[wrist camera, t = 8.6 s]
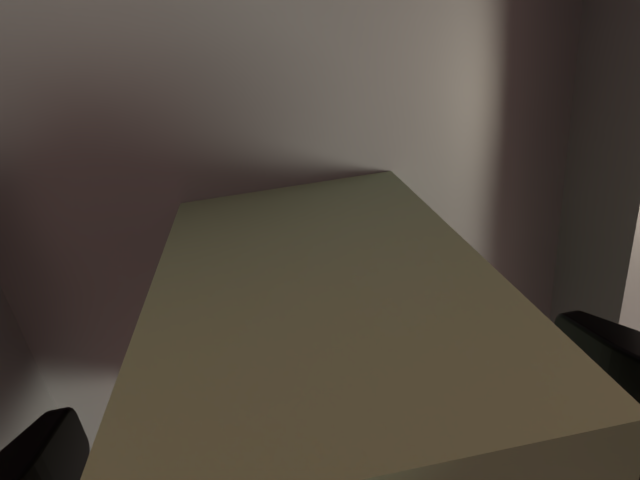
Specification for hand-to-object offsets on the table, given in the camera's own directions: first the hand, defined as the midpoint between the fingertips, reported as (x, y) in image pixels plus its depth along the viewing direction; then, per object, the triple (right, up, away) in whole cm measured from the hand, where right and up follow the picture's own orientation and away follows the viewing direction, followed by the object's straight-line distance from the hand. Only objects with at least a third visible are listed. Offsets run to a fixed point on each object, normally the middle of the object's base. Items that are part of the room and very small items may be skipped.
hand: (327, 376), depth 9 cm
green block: (-1, +2, +3) cm, 4 cm away
